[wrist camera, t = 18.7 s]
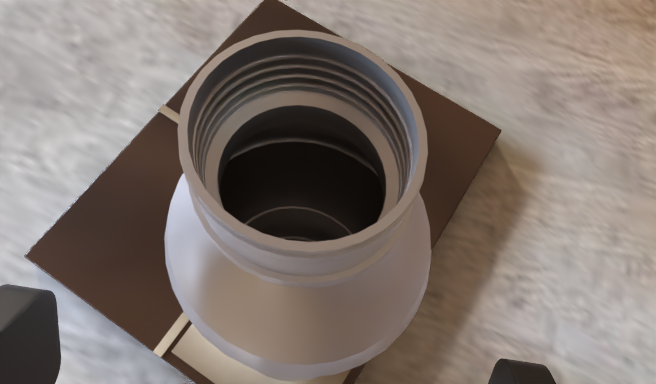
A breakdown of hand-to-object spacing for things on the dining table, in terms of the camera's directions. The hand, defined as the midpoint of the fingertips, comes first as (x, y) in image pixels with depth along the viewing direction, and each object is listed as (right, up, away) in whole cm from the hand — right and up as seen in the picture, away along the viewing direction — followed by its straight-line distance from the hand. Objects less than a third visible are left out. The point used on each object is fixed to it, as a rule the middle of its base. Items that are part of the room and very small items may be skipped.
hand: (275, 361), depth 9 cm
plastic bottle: (-1, -3, +17) cm, 17 cm away
